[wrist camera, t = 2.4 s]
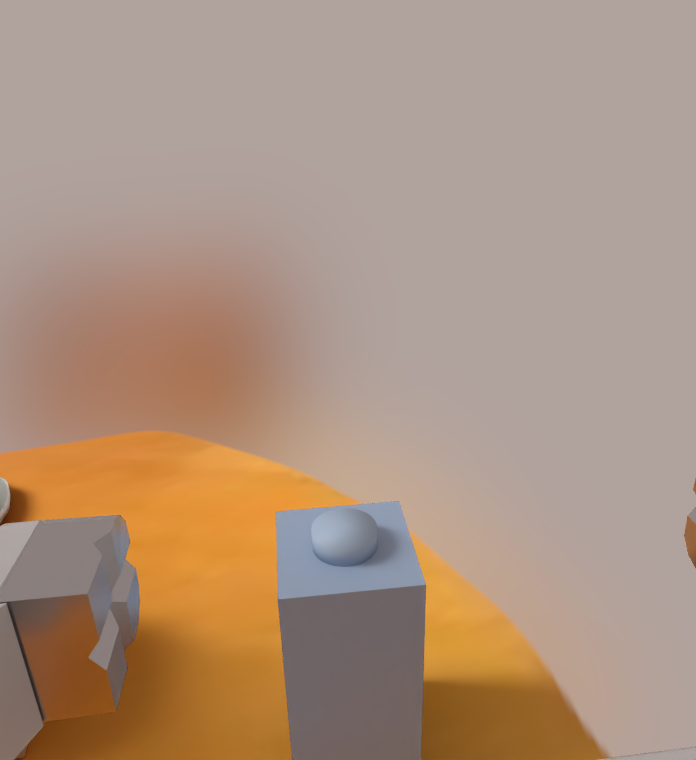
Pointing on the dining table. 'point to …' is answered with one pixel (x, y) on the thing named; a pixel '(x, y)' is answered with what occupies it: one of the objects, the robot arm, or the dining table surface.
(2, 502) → the salad plate
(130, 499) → the dining table surface
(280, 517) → the blue brick
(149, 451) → the dining table surface
